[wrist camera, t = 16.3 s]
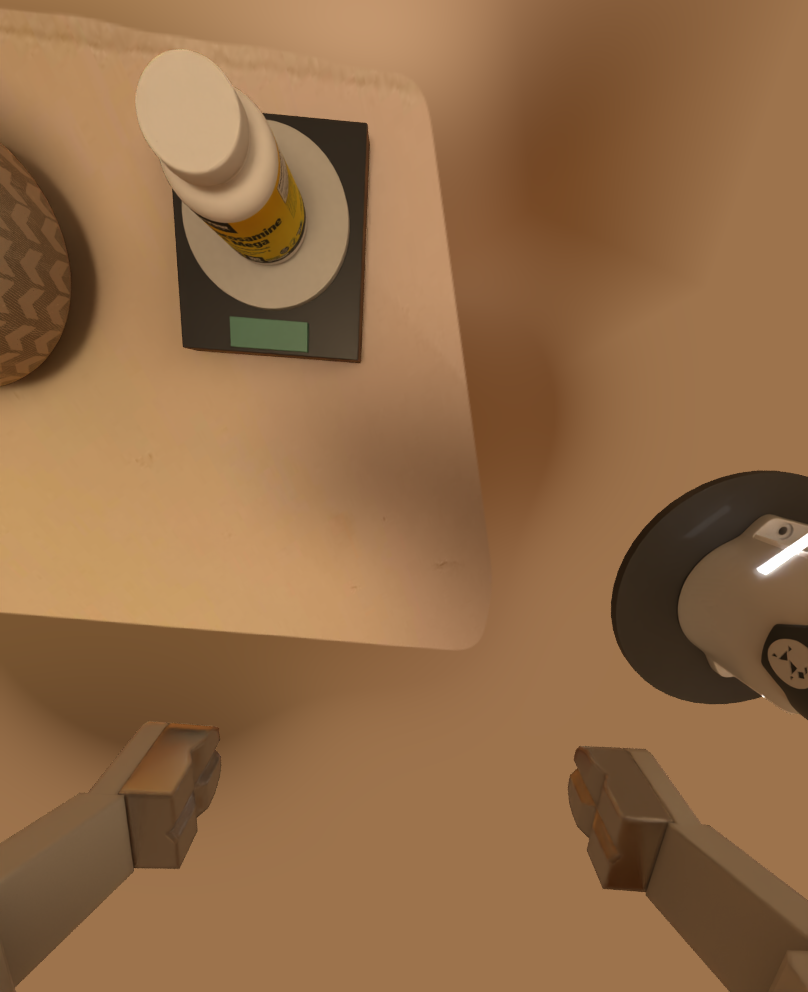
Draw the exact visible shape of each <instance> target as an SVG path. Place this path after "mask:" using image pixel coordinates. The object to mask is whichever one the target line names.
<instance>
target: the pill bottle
mask: <svg viewBox="0 0 808 992" xmlns="http://www.w3.org/2000/svg"><path fill="white" fill-rule="evenodd" d="M136 113H137V119H138V122H139V126H140V129H141V131H142V134H143V136H144V138H145V140H146V141H147V143H148V145H149V146H150V148H151V149H152V150H153V152H154V153H155V154H156V155H157V156H158V157H159V160H160V163H161V166H162V169H163V172H164V174H165V176H166V178H167V180H168V182H169V184H170V185H171V187H172V188H173V190H174V191H175V193H176V194H177V195H178V197H179V198H180V199H181V200H182V201H183V202H184V204H185V205H187V206H188V207H189V208H190V209H191V210H192V211H193V212H194V213H195V214H196V215H197V216H198V217H200V218H201V219H202V220H203V221H204V222H205V223H206V224H207V225H208V226H209V227H210V228H211V229H212V230H213V231H215V232H216V233H217V234H218V235H219V236H220V237H221V238H222V239H223V240H224V241H225V242H226V243H228V244H229V245H230V246H231V247H232V248H233V249H234V250H235V251H236V252H237V253H239V254H240V255H241V256H243V257H244V258H246V259H248V260H250V261H252V262H254V263H257V264H262V265H274V264H279V263H282V262H284V261H286V260H288V259H289V258H291V257H292V256H293V255H294V254H295V253H296V252H297V250H298V249H299V247H300V246H301V244H302V242H303V239H304V236H305V232H306V226H307V215H306V209H305V205H304V201H303V199H302V196H301V193H300V191H299V189H298V187H297V185H296V183H295V180H294V178H293V176H292V174H291V172H290V169H289V167H288V165H287V163H286V161H285V159H284V157H283V154H282V152H281V150H280V148H279V146H278V144H277V141H276V139H275V137H274V135H273V132H272V130H271V128H270V126H269V124H268V122H267V121H266V119H265V117H264V115H263V114H262V112H261V111H260V109H259V108H258V107H257V106H256V105H255V103H254V102H253V101H252V100H251V99H250V98H249V97H248V96H247V95H245V94H244V93H243V92H242V91H240V90H239V89H237V88H236V87H234V86H232V84H231V82H230V81H229V79H228V78H227V76H226V75H225V73H224V72H223V71H222V70H221V69H220V68H219V67H218V66H217V65H216V64H215V63H214V62H213V61H211V60H210V59H209V58H207V57H205V56H204V55H202V54H199V53H197V52H195V51H191V50H186V49H175V50H169V51H166V52H163V53H161V54H160V55H158V56H156V57H155V58H154V59H153V60H151V61H150V62H149V64H148V65H147V66H146V67H145V69H144V70H143V72H142V74H141V76H140V78H139V81H138V85H137V90H136Z"/></svg>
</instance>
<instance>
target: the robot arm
mask: <svg viewBox="0 0 808 992" xmlns="http://www.w3.org/2000/svg"><path fill="white" fill-rule="evenodd" d="M779 529H780V530H779ZM678 619H679V623H680V626H681V629H682V631H683V633H684V634H685V636H686V637H687V638H688V640H689V641H690V642H691V643H692V644H694V645H695V646H696V647H698V648H699V649H700V650H701V651H702V652H703V653H704V654H705V655H706V658H707V660H708V663H709V665H710V667H711V668H712V669H713V670H714V671H715V672H716V673H718V674H719V675H721V676H722V677H736V678H737V679H739V680H740V681H742V682H743V683H744V684H746V685H747V686H749V687H750V688H751V689H753V690H754V691H756V692H757V693H758V694H760V695H761V696H763V697H764V698H766V699H767V700H768V701H770V702H771V703H773V704H774V705H776V706H777V707H778V708H780V709H781V710H783V711H785V712H787V713H789V714H801V715H802V716H803V717H804V718H806V719H807V720H808V524H805V523H801V522H798V521H794V520H790V519H787V518H783V517H779V516H776V515H771V514H767V515H763V516H761V517H760V518H758V519H757V520H756V521H755V522H754V523H752V524H751V525H750V526H749V527H748V528H747V529H746V530H745V531H744V532H743V533H742V534H741V535H740V536H738V537H736V538H735V539H733V540H731V541H729V542H727V543H725V544H723V545H721V546H719V547H717V548H716V549H714V550H713V551H711V552H710V553H709V554H707V555H706V556H705V557H704V558H703V559H702V560H701V561H700V562H699V563H698V564H697V565H696V566H695V567H694V568H693V570H692V571H691V572H690V574H689V575H688V577H687V579H686V581H685V582H684V585H683V587H682V589H681V592H680V596H679V600H678ZM219 741H220V736H219V728H218V727H215V726H205V725H193V724H181V723H163V722H152V721H148V722H147V723H145V724H144V725H142V726H141V727H140V728H139V729H138V731H137V732H136V733H135V734H134V736H133V737H132V738H131V739H130V741H129V742H128V743H127V745H126V746H125V747H124V748H123V749H122V751H121V752H120V753H119V754H118V756H117V757H116V758H115V760H114V761H113V762H112V763H111V764H110V766H109V767H108V768H107V770H106V771H105V772H104V773H103V774H102V776H101V777H100V778H99V779H98V781H97V782H96V783H95V784H94V786H93V787H92V788H91V789H90V791H89V792H88V793H79V794H77V795H76V796H74V797H73V798H71V799H69V800H68V801H66V802H65V803H63V804H62V805H60V806H58V807H57V808H55V809H54V810H52V811H51V812H49V813H47V814H46V815H44V816H43V817H41V818H39V819H38V820H36V821H35V822H33V823H32V824H30V825H28V826H27V827H26V828H24V829H22V830H21V831H19V832H17V833H16V834H14V835H13V836H11V837H9V838H8V839H6V840H5V841H3V842H2V843H0V992H16V991H15V987H16V986H17V985H18V984H19V983H20V982H21V981H22V980H23V979H24V978H25V977H26V976H27V975H28V974H29V973H30V972H31V971H32V970H33V969H34V968H35V967H36V966H37V965H38V964H39V963H40V962H42V961H43V960H44V959H45V958H46V957H47V956H48V954H50V953H51V952H52V951H53V950H54V949H55V948H56V947H57V946H58V945H59V944H60V943H61V942H62V941H63V940H64V939H65V938H66V937H67V936H68V935H69V934H70V933H71V932H72V931H73V930H74V929H75V928H76V927H77V926H78V925H79V924H80V923H81V922H82V921H83V920H84V919H86V918H87V917H88V916H89V915H90V914H91V913H92V912H93V911H94V910H95V909H96V908H97V907H98V906H99V905H100V904H101V903H102V902H103V901H104V900H105V899H106V898H107V897H108V896H109V895H110V894H111V893H112V892H113V891H114V890H115V889H116V888H117V887H118V886H119V885H120V884H121V883H122V882H123V881H124V880H126V879H127V877H129V876H130V874H132V873H133V871H134V868H168V869H169V868H170V869H171V868H173V869H179V868H180V866H181V864H182V862H183V860H184V858H185V856H186V854H187V852H188V850H189V847H190V845H191V843H192V841H193V839H194V837H195V835H196V833H197V817H198V816H199V815H200V814H202V813H203V812H204V811H205V810H206V809H207V808H208V807H209V805H210V803H211V801H212V799H213V796H214V794H215V791H216V788H217V785H218V781H219V778H220V771H221V756H220V755H219V754H218V752H217V751H216V750H215V749H216V747H217V745H218V743H219ZM574 761H575V763H576V766H577V767H578V768H577V769H576V770H575V771H574V772H573V773H572V774H571V775H570V778H569V784H568V795H569V803H570V807H571V811H572V814H573V817H574V820H575V822H576V825H577V827H578V828H579V829H580V830H581V831H582V832H583V833H584V834H585V835H586V836H587V837H588V838H589V843H588V847H587V852H588V854H589V856H590V859H591V861H592V864H593V866H594V868H595V871H596V873H597V875H598V878H599V880H600V883H601V885H602V888H603V889H613V890H627V891H638V892H646V896H647V897H648V898H649V899H650V901H651V902H652V903H653V904H654V905H655V906H656V908H657V909H658V910H659V911H660V912H661V913H662V914H663V915H664V917H665V918H666V919H667V920H668V921H669V922H670V924H671V925H672V926H673V927H674V928H675V929H676V930H677V932H678V933H679V934H680V935H681V936H682V937H683V939H684V940H685V941H686V942H687V943H688V944H689V945H690V947H691V948H692V949H693V950H694V951H695V952H696V953H697V955H698V956H699V957H700V958H701V959H702V960H703V962H704V963H705V964H706V965H707V966H708V967H709V968H710V970H711V971H712V972H713V973H714V974H715V975H716V976H717V977H718V979H719V980H720V981H721V982H722V983H723V985H724V986H725V987H726V988H727V989H728V990H729V991H730V992H808V900H807V899H805V898H804V897H803V896H802V895H800V894H799V893H797V892H796V891H795V890H794V889H792V888H791V887H790V886H788V885H787V884H786V883H784V882H783V881H782V880H780V879H779V878H778V877H777V876H775V875H774V874H773V873H771V872H770V871H768V870H767V869H766V868H765V867H763V866H762V865H761V864H760V863H758V862H757V861H755V860H754V859H753V858H752V857H750V856H749V855H748V854H746V853H745V852H744V851H742V850H741V849H740V848H739V847H737V846H736V845H735V844H733V843H732V842H731V841H729V840H728V839H727V838H725V837H724V836H723V835H721V834H720V833H719V832H717V831H716V830H715V829H714V828H712V827H711V826H709V825H702V824H701V823H700V821H699V820H698V818H697V817H696V816H695V814H694V813H693V811H692V810H691V809H690V807H689V806H688V804H687V803H686V802H685V800H684V799H683V797H682V796H681V795H680V793H679V792H678V790H677V789H676V787H675V786H674V785H673V783H672V782H671V780H670V779H669V777H668V776H667V775H666V773H665V772H664V770H663V769H662V768H661V766H660V765H659V764H658V762H657V761H656V759H655V758H654V756H653V755H652V754H651V753H650V752H648V751H647V750H646V749H630V748H623V749H622V748H611V747H589V746H588V747H587V746H579V748H577V750H576V752H575V756H574Z"/></svg>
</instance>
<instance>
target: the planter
mask: <svg viewBox="0 0 808 992" xmlns="http://www.w3.org/2000/svg"><path fill="white" fill-rule="evenodd" d="M70 298H71V274H70V264H69V259H68V253H67V249H66V245H65V242H64V238H63V235H62V232H61V229H60V227H59V224H58V222H57V219H56V217H55V215H54V213H53V210H52V208H51V207H50V205H49V203H48V201H47V199H46V197H45V196H44V194H43V192H42V191H41V189H40V188H39V186H38V185H37V183H36V182H35V180H34V179H33V178H32V176H31V175H30V174H29V172H28V171H27V170H26V169H25V167H24V166H23V165H22V164H21V163H20V162H19V161H18V159H17V158H16V157H15V156H14V155H13V154H12V153H11V152H10V151H9V150H8V149H7V148H6V147H5V146H4V145H3V144H1V143H0V387H1V386H4V385H7V384H10V383H12V382H15V381H17V380H19V379H21V378H23V377H24V376H26V375H28V374H29V373H31V372H32V371H33V370H35V369H36V368H37V367H38V366H40V365H41V363H42V362H43V361H44V360H45V359H46V358H47V357H48V356H49V354H50V353H51V352H52V351H53V349H54V347H55V346H56V344H57V342H58V341H59V339H60V337H61V334H62V332H63V330H64V327H65V324H66V321H67V317H68V312H69V307H70Z"/></svg>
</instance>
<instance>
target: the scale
mask: <svg viewBox="0 0 808 992" xmlns="http://www.w3.org/2000/svg"><path fill="white" fill-rule="evenodd" d="M262 114H263V115H264V117H265V119H266V121H267V122H268V124H269V126H270V128H271V130H272V132H273V135H274V137H275V139H276V141H277V144H278V146H279V148H280V150H281V152H282V154H283V157H284V159H285V161H286V163H287V165H288V167H289V169H290V172H291V174H292V176H293V178H294V180H295V183H296V185H297V187H298V189H299V191H300V193H301V196H302V199H303V201H304V205H305V209H306V215H307V226H306V232H305V236H304V239H303V242H302V244H301V246H300V247H299V249H298V250H297V252H296V253H295V254H294V255H293V256H292V257H291V258H289V259H288V260H286V261H284V262H282V263H279V264H274V265H262V264H257V263H254V262H252V261H250V260H248V259H246V258H244V257H243V256H241V255H240V254H239V253H237V252H236V251H235V250H234V249H233V248H232V247H231V246H230V245H229V244H228V243H226V242H225V241H224V240H223V239H222V238H221V237H220V236H219V235H218V234H217V233H216V232H215V231H213V230H212V229H211V228H210V227H209V226H208V225H207V224H206V223H205V222H204V221H203V220H202V219H201V218H200V217H198V216H197V215H196V214H195V213H194V212H193V211H192V210H191V209H190V208H189V207H188V206H187V205H185V204H184V202H183V201H182V200H181V199H180V198H179V197H178V195H177V194H176V193H175V191H174V190H173V188H172V192H173V207H174V222H175V237H176V252H177V266H178V281H179V296H180V311H181V326H182V341H183V347H184V348H188V349H193V350H197V351H208V352H221V353H235V354H248V355H261V356H275V357H288V358H301V359H315V360H328V361H341V362H355V363H361V346H362V321H363V296H364V271H365V246H366V221H367V196H368V171H369V146H370V144H369V135H368V125H367V123H359V122H349V121H339V120H329V119H318V118H308V117H298V116H287V115H277V114H267V113H262Z"/></svg>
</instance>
